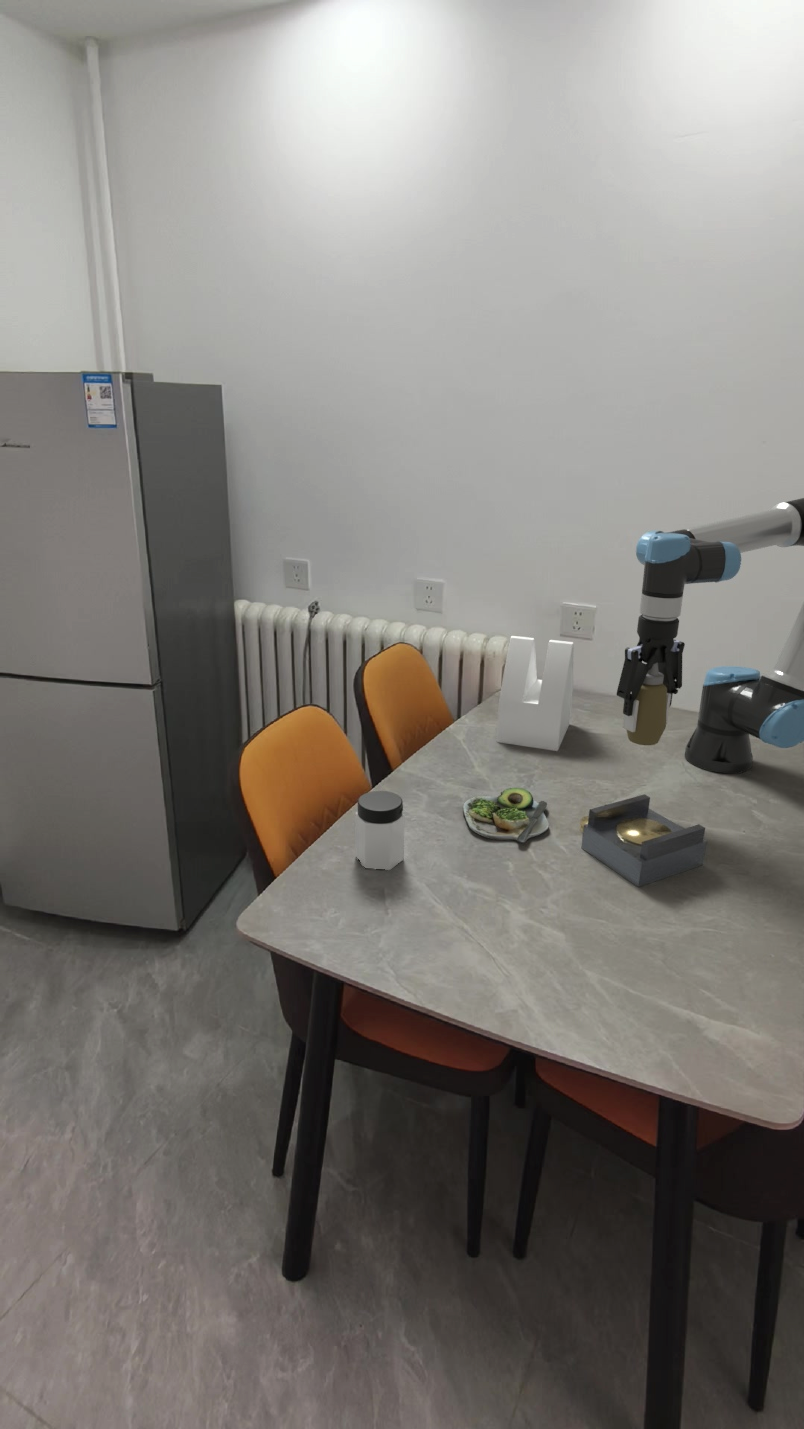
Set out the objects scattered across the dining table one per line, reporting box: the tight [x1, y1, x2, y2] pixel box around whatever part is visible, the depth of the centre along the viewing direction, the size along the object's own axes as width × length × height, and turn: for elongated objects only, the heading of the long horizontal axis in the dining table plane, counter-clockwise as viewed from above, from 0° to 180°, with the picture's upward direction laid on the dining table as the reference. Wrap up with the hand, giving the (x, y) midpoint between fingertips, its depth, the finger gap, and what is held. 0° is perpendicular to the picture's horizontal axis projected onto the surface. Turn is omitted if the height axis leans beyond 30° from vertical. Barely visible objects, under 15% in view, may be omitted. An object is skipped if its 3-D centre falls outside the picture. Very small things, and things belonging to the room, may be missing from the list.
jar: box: [354, 790, 406, 871], centre depth 144 cm, size 9×8×12 cm
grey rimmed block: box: [580, 794, 707, 888], centre depth 147 cm, size 16×15×8 cm
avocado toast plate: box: [462, 787, 550, 844], centre depth 159 cm, size 19×18×5 cm
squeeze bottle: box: [625, 663, 667, 746], centre depth 159 cm, size 8×8×18 cm
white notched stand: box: [495, 635, 574, 752], centre depth 201 cm, size 19×15×25 cm
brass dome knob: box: [579, 815, 589, 835], centre depth 157 cm, size 6×6×2 cm
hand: (645, 725), depth 161 cm, fingers closed on squeeze bottle, 8 cm apart
